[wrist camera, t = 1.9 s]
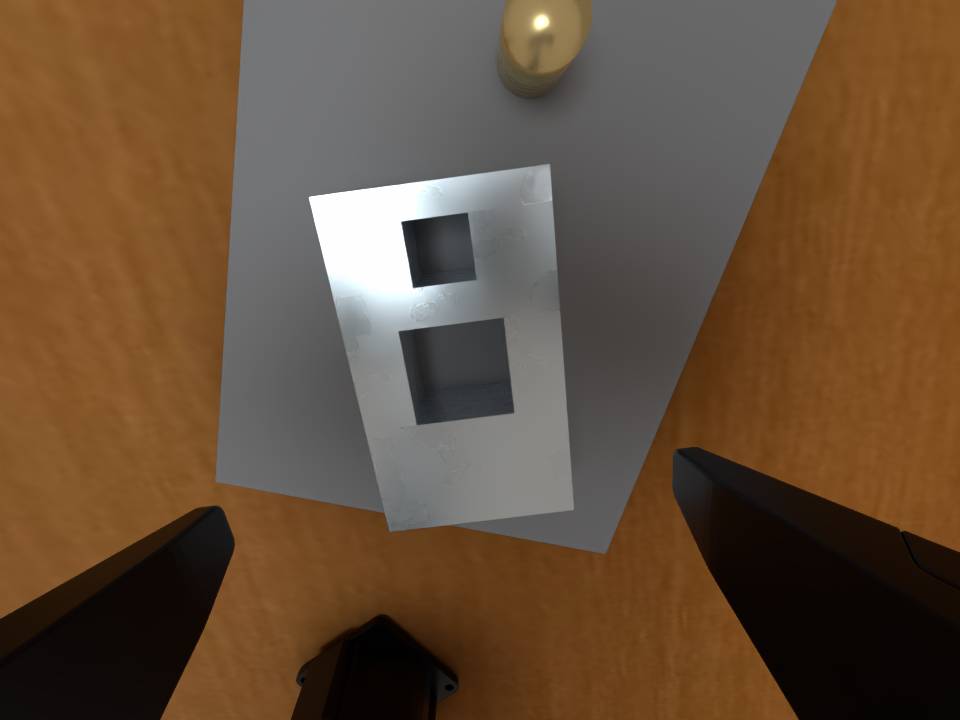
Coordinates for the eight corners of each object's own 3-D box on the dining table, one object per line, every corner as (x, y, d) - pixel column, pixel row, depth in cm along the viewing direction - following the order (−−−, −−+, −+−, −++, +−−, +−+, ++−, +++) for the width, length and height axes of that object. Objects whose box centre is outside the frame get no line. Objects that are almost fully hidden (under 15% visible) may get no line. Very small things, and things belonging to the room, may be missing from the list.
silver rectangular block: (559, 465, 20) (574, 509, 17) (401, 484, 20) (389, 531, 17) (535, 170, 16) (549, 163, 13) (337, 197, 16) (308, 197, 13)
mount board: (600, 539, 22) (605, 553, 21) (227, 468, 21) (215, 481, 20) (869, -122, 14) (898, -145, 13) (281, -335, 12) (266, -379, 11)
